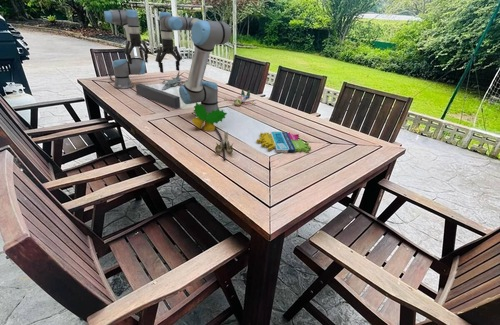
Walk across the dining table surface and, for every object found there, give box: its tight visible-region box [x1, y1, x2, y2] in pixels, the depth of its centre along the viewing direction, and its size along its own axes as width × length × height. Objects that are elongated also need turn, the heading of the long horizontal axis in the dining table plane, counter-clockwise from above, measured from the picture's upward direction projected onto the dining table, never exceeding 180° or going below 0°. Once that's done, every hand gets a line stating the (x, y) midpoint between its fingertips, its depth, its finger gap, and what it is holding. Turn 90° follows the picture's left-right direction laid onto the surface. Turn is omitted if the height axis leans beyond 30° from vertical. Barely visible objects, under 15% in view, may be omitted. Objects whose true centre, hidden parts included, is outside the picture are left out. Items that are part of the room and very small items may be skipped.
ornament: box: [191, 102, 228, 132], centre depth 162 cm, size 21×8×15 cm, turn 105°
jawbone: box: [214, 131, 234, 156], centre depth 136 cm, size 9×15×10 cm
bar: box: [134, 83, 181, 110], centre depth 207 cm, size 52×4×8 cm, turn 51°
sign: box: [256, 131, 312, 154], centre depth 152 cm, size 26×2×30 cm
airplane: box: [159, 70, 186, 91], centre depth 251 cm, size 38×31×10 cm
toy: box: [223, 89, 257, 106], centre depth 219 cm, size 28×7×30 cm
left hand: (138, 63), depth 206 cm, fingers open, 13 cm apart
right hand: (170, 71), depth 186 cm, fingers open, 13 cm apart
